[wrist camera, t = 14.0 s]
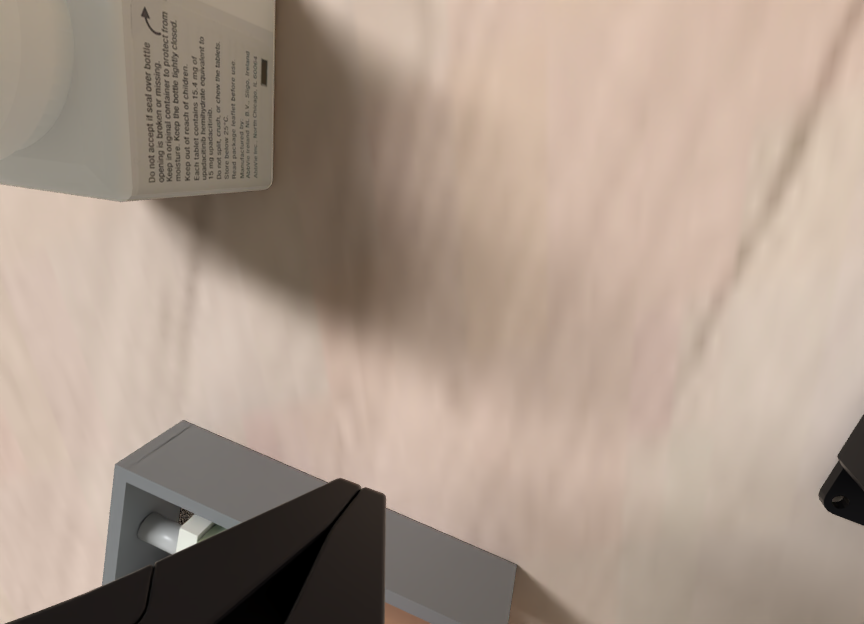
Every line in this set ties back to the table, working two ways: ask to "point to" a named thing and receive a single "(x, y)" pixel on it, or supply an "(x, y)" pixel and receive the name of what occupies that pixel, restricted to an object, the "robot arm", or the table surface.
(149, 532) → the pusher
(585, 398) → the table surface
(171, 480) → the lane
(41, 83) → the container
